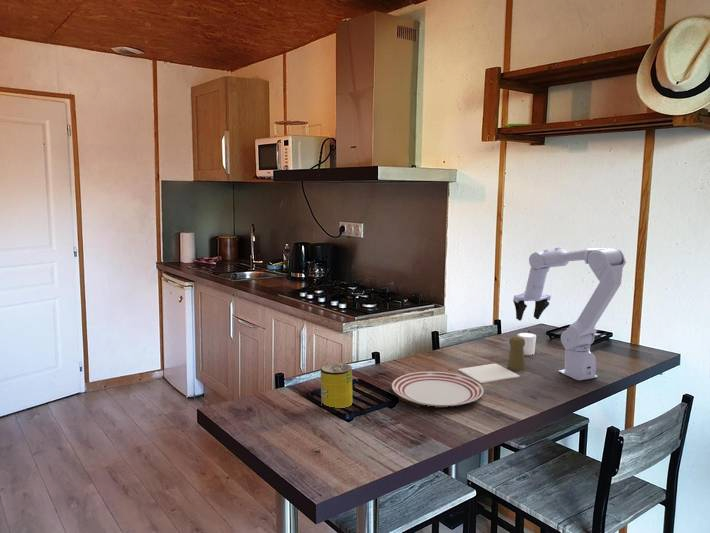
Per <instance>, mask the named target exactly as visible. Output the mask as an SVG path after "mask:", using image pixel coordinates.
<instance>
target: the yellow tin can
mask: <svg viewBox="0 0 710 533" xmlns="http://www.w3.org/2000/svg"><path fill="white" fill-rule="evenodd" d="M352 369H353V368H352V365H350V364H349V363H345V362H331V363H326V364H323V365H321V367H320V393H321V394H320V396H321V397H320V398H321V404H322V403H323V404H324V405H326V406H329V407H335V408H345V407H349V406H351V405H352V403H354V401H353V373H352V372H353V370H352Z"/></svg>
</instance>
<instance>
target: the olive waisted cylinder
mask: <svg viewBox="0 0 710 533" xmlns="http://www.w3.org/2000/svg"><path fill="white" fill-rule="evenodd" d="M509 346H510V349H509V350H510V351H509V356H508V361H507V369H508V370H510V371H512V372H513V371H514V372H523V371H525V370H526V369H527V368H526V360H525V358H526V357H525V355H524V349H523V347H524V346H525V340H524V338H522V337H518V336H511V337H510V338H509Z"/></svg>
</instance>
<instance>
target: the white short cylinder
mask: <svg viewBox="0 0 710 533" xmlns="http://www.w3.org/2000/svg"><path fill="white" fill-rule="evenodd" d="M517 337H522V338H524V340H525V346H524V347H523V349H524V356H532V354H533V355H535V350H536V343H537V341H536V340H537V335H536V334H535V333H530V332H519V333H517Z"/></svg>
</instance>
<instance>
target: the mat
mask: <svg viewBox="0 0 710 533" xmlns="http://www.w3.org/2000/svg"><path fill="white" fill-rule="evenodd" d="M457 371H459V372H460V373H462V374H463V375H465V376H466V377H468V378H470V379H473V380H474V381H476V382H478V383H479V384H480V385H481V384H488V383H493V382H500V381H505V380H512V379H517V378H521V375H519V374H518V373H515V371H514V372H513V370H510V369H508V368H506V367H504V366H502V365H500V364H498V363H489V364H483V365H475V366H469V367H462V368H458V370H457Z"/></svg>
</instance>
